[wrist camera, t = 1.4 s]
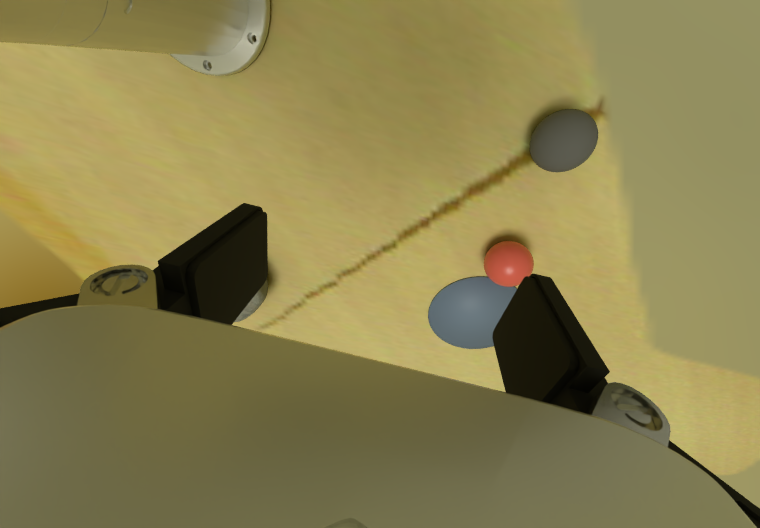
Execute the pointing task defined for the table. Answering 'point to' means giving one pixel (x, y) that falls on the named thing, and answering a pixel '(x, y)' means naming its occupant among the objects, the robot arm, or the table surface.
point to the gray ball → (563, 140)
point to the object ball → (508, 263)
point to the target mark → (469, 311)
